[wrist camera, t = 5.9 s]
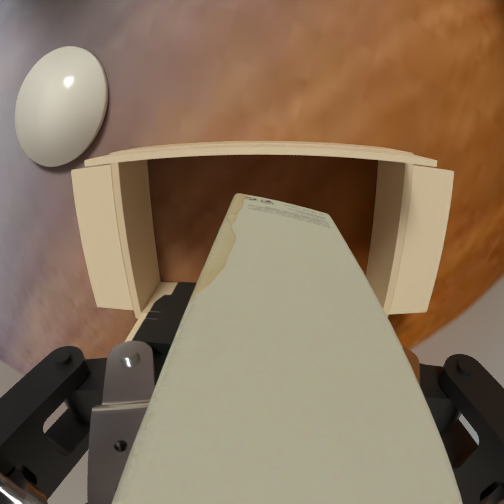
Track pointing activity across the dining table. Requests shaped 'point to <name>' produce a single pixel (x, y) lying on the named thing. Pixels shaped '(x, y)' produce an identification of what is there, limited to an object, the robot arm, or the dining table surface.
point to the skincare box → (285, 381)
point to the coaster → (61, 106)
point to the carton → (389, 160)
